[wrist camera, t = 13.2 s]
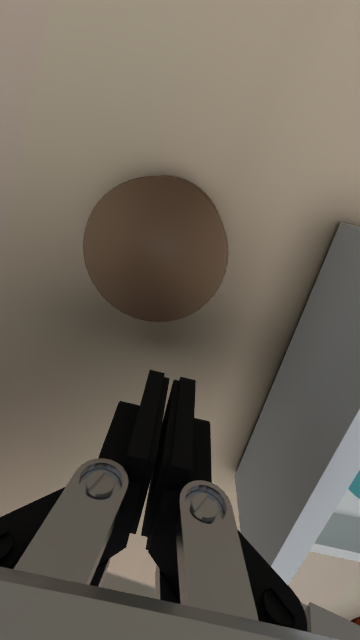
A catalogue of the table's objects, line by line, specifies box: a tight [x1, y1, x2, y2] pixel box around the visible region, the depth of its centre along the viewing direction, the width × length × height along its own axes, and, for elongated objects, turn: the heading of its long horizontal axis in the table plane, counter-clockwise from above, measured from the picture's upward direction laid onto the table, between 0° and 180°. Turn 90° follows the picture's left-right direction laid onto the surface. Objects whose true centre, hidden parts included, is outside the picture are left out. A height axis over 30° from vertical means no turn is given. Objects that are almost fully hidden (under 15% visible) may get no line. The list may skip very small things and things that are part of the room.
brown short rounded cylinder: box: [83, 176, 228, 322], centre depth 13 cm, size 5×5×4 cm
